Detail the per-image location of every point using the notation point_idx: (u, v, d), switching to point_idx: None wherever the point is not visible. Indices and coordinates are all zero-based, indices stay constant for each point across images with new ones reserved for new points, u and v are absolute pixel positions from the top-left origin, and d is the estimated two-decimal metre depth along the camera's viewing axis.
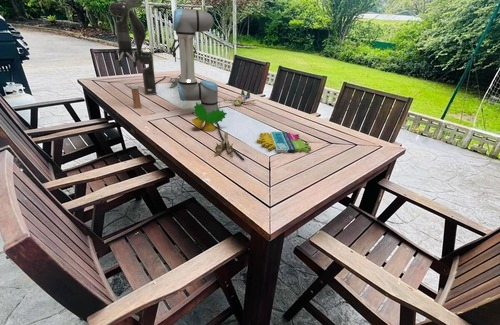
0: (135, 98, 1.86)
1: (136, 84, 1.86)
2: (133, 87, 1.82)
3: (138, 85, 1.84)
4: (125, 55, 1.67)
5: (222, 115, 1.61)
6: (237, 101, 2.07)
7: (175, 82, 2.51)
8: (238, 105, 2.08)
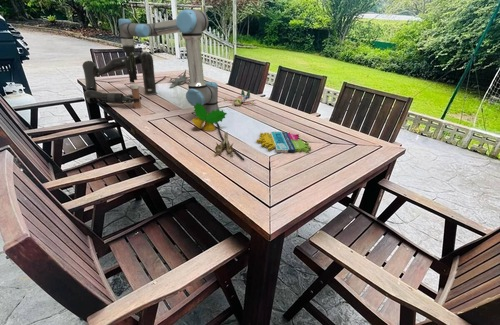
0: (135, 98, 1.86)
1: (136, 84, 1.86)
2: (133, 87, 1.82)
3: (138, 85, 1.84)
4: None
5: (222, 115, 1.61)
6: (237, 101, 2.07)
7: (175, 82, 2.51)
8: (238, 105, 2.08)
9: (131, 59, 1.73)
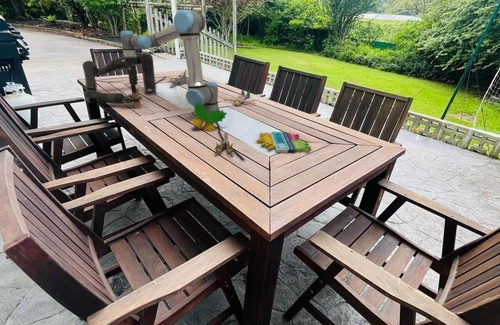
0: (135, 98, 1.86)
1: (136, 84, 1.86)
2: None
3: (138, 85, 1.84)
4: None
5: (222, 115, 1.61)
6: (237, 101, 2.07)
7: (175, 82, 2.51)
8: (238, 105, 2.08)
9: (133, 70, 1.76)
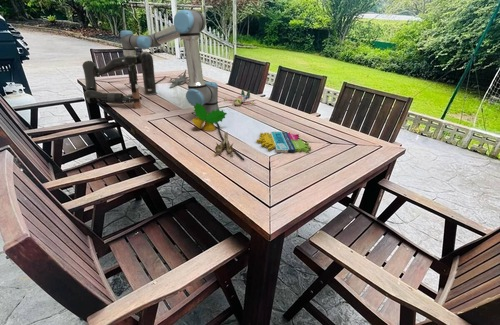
0: (135, 98, 1.86)
1: None
2: (138, 86, 1.85)
3: None
4: None
5: (222, 115, 1.61)
6: (237, 101, 2.07)
7: (175, 82, 2.51)
8: (238, 105, 2.08)
9: (133, 69, 1.76)
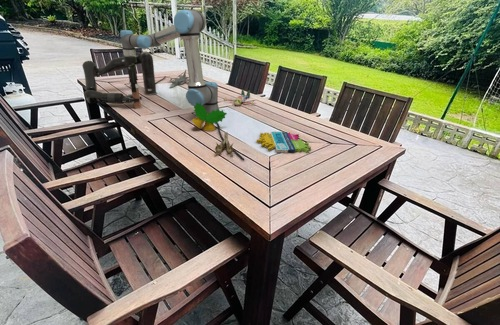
0: (135, 98, 1.86)
1: None
2: None
3: (130, 85, 1.82)
4: None
5: (222, 115, 1.61)
6: (237, 101, 2.07)
7: (175, 82, 2.51)
8: (238, 105, 2.08)
9: (133, 69, 1.76)
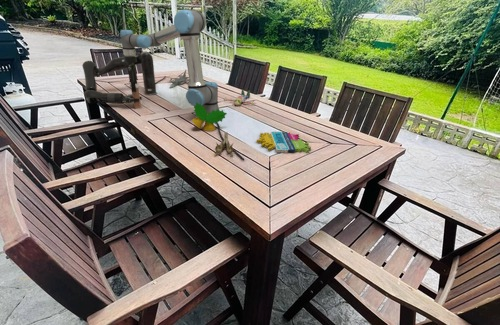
0: (135, 98, 1.86)
1: (138, 84, 1.84)
2: (130, 86, 1.82)
3: None
4: None
5: (222, 115, 1.61)
6: (237, 101, 2.07)
7: (175, 82, 2.51)
8: (238, 105, 2.08)
9: (133, 69, 1.76)
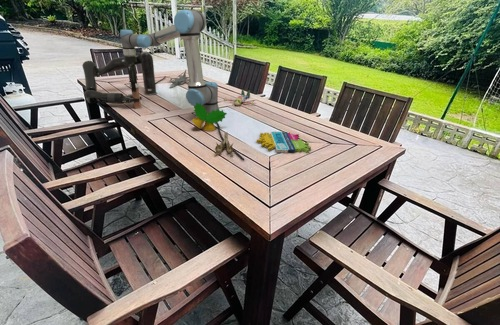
0: (135, 98, 1.86)
1: None
2: (136, 86, 1.82)
3: None
4: None
5: (222, 115, 1.61)
6: (237, 101, 2.07)
7: (175, 82, 2.51)
8: (238, 105, 2.08)
9: (133, 69, 1.76)
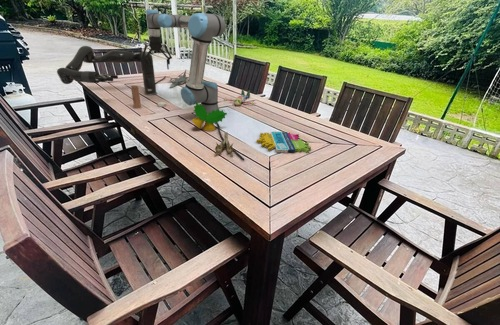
0: (135, 98, 1.86)
1: (158, 103, 1.96)
2: None
3: (159, 102, 1.99)
4: None
5: (222, 115, 1.61)
6: (237, 101, 2.07)
7: (175, 82, 2.51)
8: (238, 105, 2.08)
9: None
